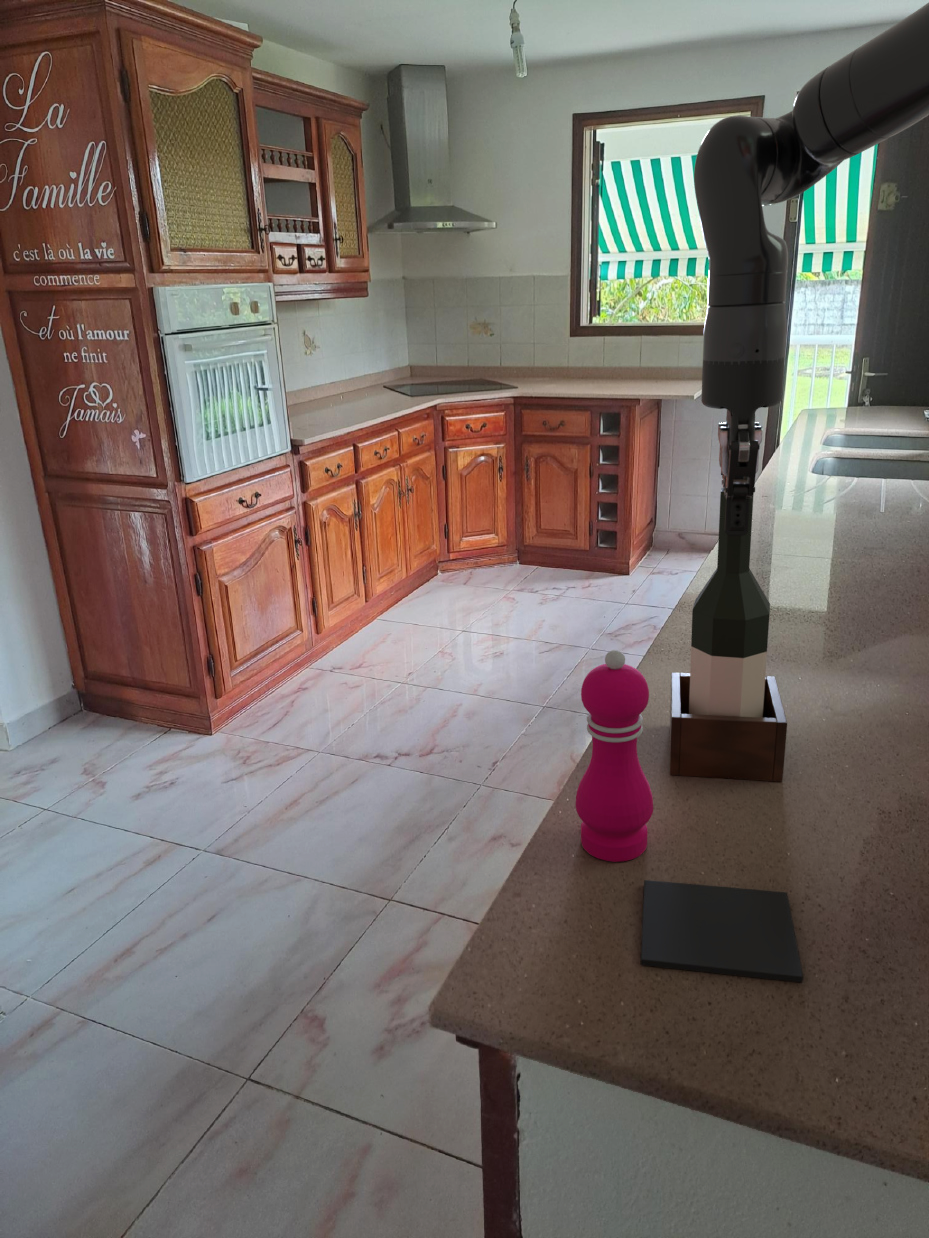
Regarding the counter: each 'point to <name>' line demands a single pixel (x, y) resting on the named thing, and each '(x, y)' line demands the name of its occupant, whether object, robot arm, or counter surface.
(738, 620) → the wine bottle
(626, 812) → the pepper mill
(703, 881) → the counter surface
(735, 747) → the box
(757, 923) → the rubber mat
